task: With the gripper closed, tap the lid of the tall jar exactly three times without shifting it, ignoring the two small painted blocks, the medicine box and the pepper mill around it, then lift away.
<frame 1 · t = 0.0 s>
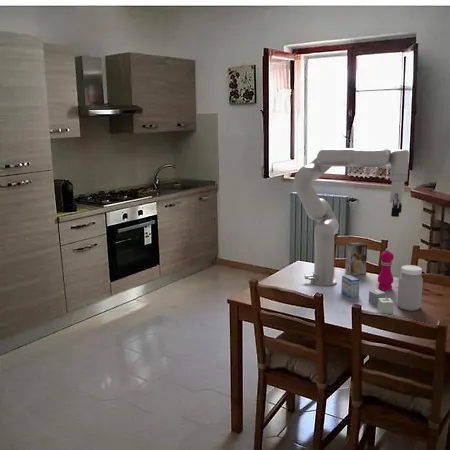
hand: (396, 214, 228), 37 cm above the table, tool pointing down, fingers open, 9 cm apart
jar: (408, 307, 218), on the table
pepper mill: (385, 288, 241), on the table
sage block: (385, 311, 214), on the table
coffee box: (355, 273, 264), on the table
slate block: (376, 302, 223), on the table
medicine box: (350, 295, 233), on the table
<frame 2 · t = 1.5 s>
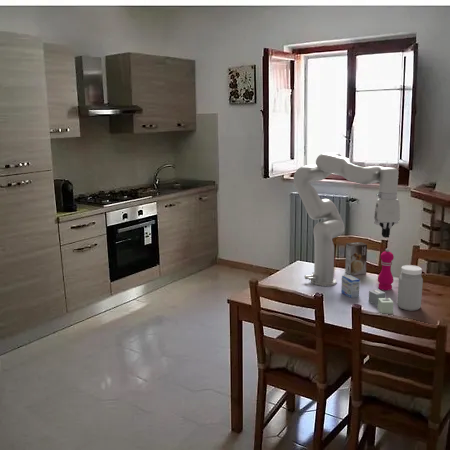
hand: (385, 236, 221), 29 cm above the table, tool pointing down, fingers closed
nothing on the table moved.
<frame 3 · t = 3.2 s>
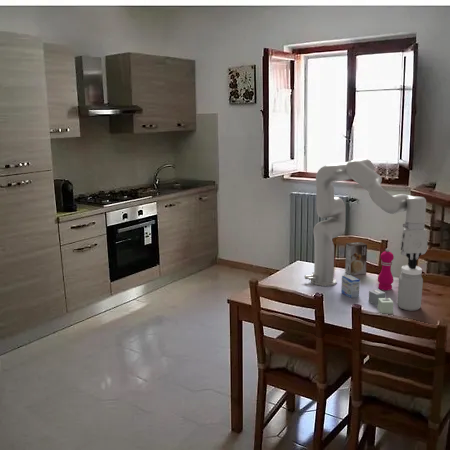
hand: (412, 267, 213), 18 cm above the table, tool pointing down, fingers closed
jar: (408, 307, 218), on the table, touching gripper
everything else where it was.
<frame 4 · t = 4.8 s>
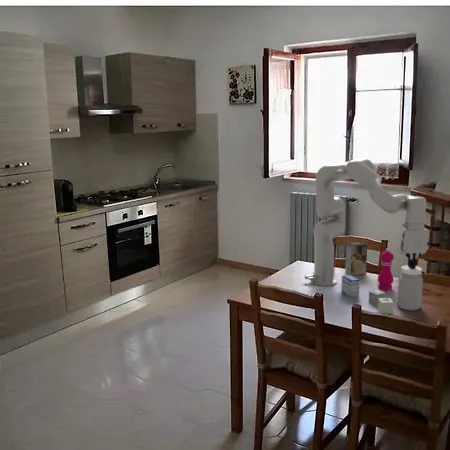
hand: (411, 267, 213), 18 cm above the table, tool pointing down, fingers closed
jar: (408, 307, 218), on the table
everything else where it was.
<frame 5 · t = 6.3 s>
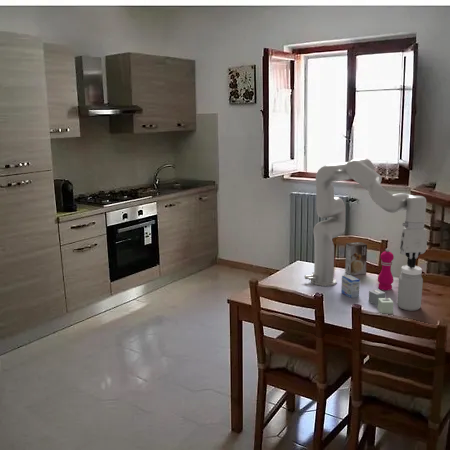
hand: (411, 266, 214), 18 cm above the table, tool pointing down, fingers closed
nothing on the table moved.
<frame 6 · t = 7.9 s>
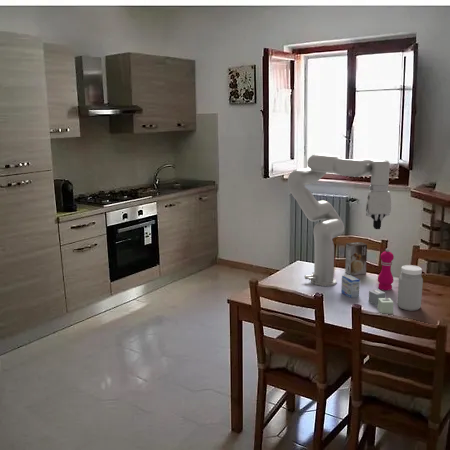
hand: (376, 228, 224), 32 cm above the table, tool pointing down, fingers closed
nothing on the table moved.
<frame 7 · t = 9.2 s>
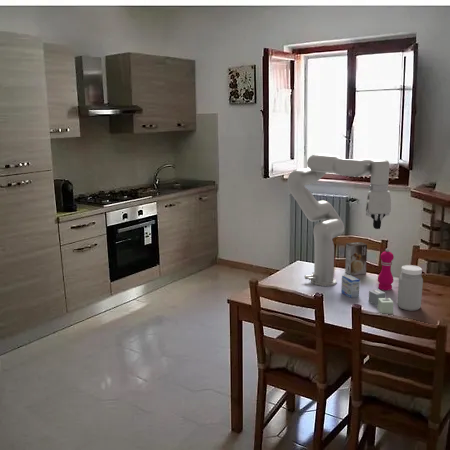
hand: (376, 228, 224), 32 cm above the table, tool pointing down, fingers closed
nothing on the table moved.
at the end: jar moved 0.2 cm from its start; jar tilted 0°; the gripper is holding nothing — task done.
